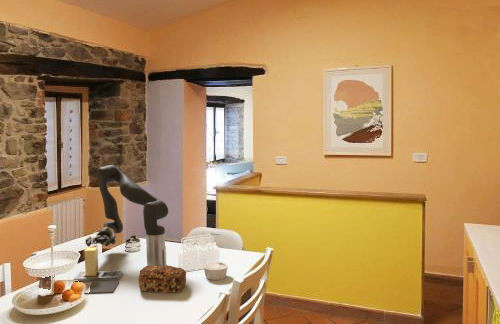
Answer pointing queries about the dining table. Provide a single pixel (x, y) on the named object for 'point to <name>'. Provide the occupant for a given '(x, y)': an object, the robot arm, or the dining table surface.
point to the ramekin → (215, 271)
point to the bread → (162, 279)
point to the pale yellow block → (91, 262)
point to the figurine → (45, 283)
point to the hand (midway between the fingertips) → (97, 244)
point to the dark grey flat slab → (100, 276)
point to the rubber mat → (103, 287)
